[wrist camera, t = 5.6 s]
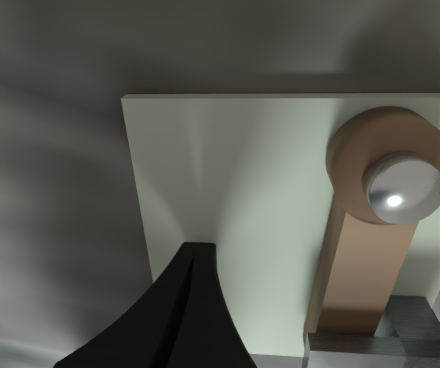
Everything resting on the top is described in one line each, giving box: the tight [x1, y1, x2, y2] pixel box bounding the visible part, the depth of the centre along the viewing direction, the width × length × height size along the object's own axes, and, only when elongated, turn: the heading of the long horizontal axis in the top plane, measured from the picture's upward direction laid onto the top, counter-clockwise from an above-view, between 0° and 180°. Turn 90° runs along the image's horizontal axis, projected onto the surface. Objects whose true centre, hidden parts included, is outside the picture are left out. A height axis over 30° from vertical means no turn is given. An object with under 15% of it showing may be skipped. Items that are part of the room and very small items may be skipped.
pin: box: [362, 150, 440, 224], centre depth 10 cm, size 2×2×1 cm
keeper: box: [302, 295, 440, 368], centre depth 15 cm, size 4×6×3 cm, turn 92°
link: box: [303, 106, 440, 349], centre depth 13 cm, size 12×4×2 cm, turn 179°
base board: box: [121, 93, 440, 357], centre depth 15 cm, size 14×13×1 cm
